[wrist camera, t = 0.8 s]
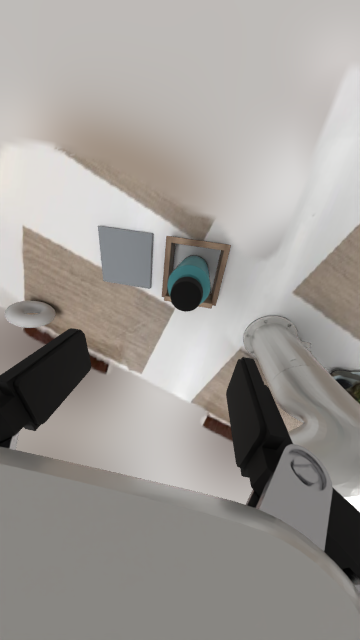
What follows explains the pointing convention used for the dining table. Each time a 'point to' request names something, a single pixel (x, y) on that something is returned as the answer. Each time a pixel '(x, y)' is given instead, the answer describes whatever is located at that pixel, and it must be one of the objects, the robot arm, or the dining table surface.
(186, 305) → the beverage bottle
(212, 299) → the brown wooden open box
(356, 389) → the salad plate
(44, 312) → the donut
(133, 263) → the slate mat
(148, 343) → the dining table surface
